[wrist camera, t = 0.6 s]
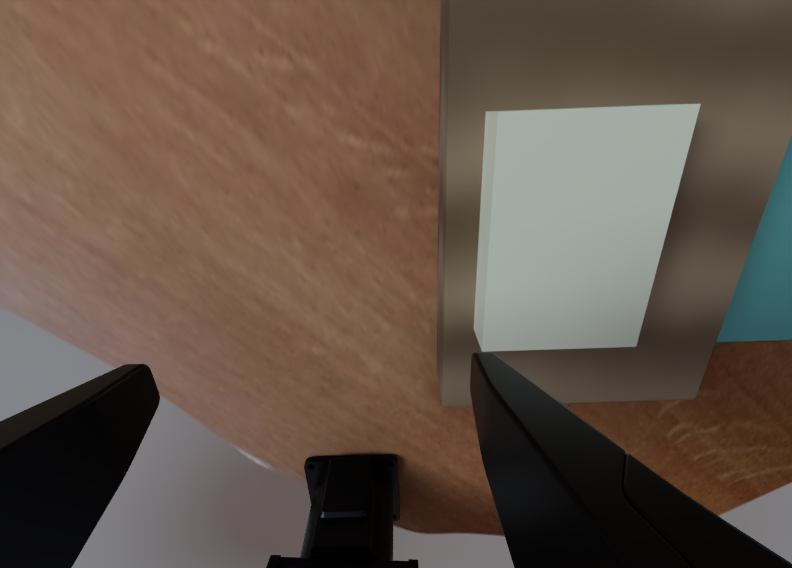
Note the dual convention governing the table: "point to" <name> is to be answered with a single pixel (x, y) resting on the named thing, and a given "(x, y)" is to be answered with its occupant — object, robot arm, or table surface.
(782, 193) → the teal mat
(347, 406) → the table surface
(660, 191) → the white rectangular block
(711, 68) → the block
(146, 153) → the table surface
